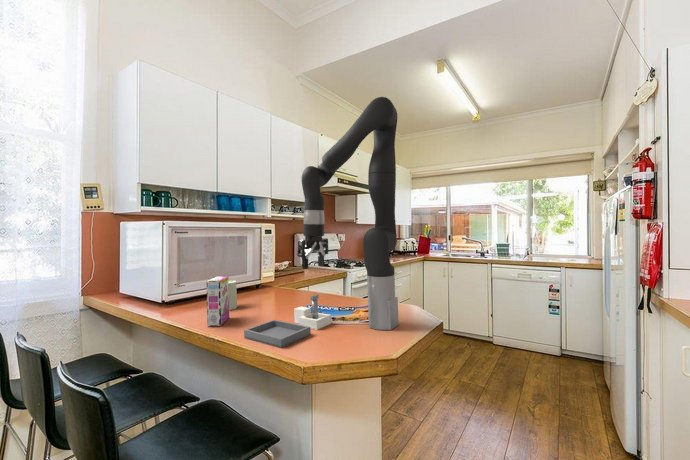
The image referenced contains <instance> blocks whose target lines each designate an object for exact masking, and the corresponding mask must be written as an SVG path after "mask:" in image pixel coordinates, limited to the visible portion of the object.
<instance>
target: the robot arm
mask: <svg viewBox="0 0 690 460" xmlns="http://www.w3.org/2000/svg"><path fill="white" fill-rule="evenodd" d="M398 118H399V117H398V111H397V109H396V107H395V105H394V104H393V102H392V101H391V100H390V99H389V98H388V97H386V96H378V97H375V98H374V99H373V100H371V101H370V103H369V104H368V105H367V106H366V107H365V108H364V109H363V111H362V112H361V114H360V115H359V117H358V118H357V119H356V120H355V121H354V123H353V124H352V125H351V127H350V128H349V129H348V130H347V131H346V132H345V134H344V135H342V137H341V138H340V139H338V141H337V142H336V143H334V145H333V146H332V147H330V148H329V149H328V151H327V152H325V153H324V154H323V155H322V156H321V163H320V164H319V165H318V166H317V167H316V166H312V165H311V166H310V165H309V166H307V167H305V168H304V169H303V170H302V174H301V186H302V192H303V196H304V197H303V198H304V212H303V230H302V231H303V232H302V233H303V236H304V239H298V240H297V255H296V256H297V257H299V258H301V268H302V270H303V269H304V270H309V257H310V255H311V254H312V253H313V252H316V253H317V255H318V256H317V266H318V267H322V268H323V267H324V265H325V257H326V255H328V254H329V239H328V238H326V237H325V238H324V236H325V197H324V195H323V194H322V193H321V188H323V187H324V186H325V185H327V184H328V182H330V181H331V179H332V178H333V177H334V175H335V173H336V172H337V171H338V170H339V169H340V168H341V167H342V166H343V165H344V164H346V162H348V160H350V159H351V157H352V156H353V155H354V154H355V152H356V151H357V149H358V148H359V146H360V145H361V143H362V142H363V141H364V140H365V139H366V137H368V135H370V134H371V133H372V132H373V149H372V153H371V157H370V161H369V165H368V174H367V175H368V176H367V177H368V180H367V181H368V182H367V185H368V187H367V188H368V192H369V196H370V199H371V202H372V206H373V209H374V210H373V211H374V219H375V220H374V227H372V228H369V229H368V230H366V231H365V234H364V236H363V238H362V239H363V241H362V246H363V247H362V248H363V250H362V251H363V263H364V268H365V269H366V275H367V276H366V278H367V311H368V312H367V313H368V314H367V315H368V327H369V328H370V329H374V330H380V331H386V330H388V331H391V330H393V329H395V328H396V327H398V326H400V325H399V298H398V296H396V275H395V274H396V273H395V272H396V271H395V266H394V265H392V264H391V261H390V253H391V252H393V251H394V250H395V248H396V246H397V242H398V238H397V236H398V235H397V226H396V225H397V224H396V188H397V187H396V186H397V185H396V184H397V183H396V182H397V181H396V180H397V179H396V178H397V176H396V175H397V169H396V162H397V161H396V135H397V125H398Z"/></svg>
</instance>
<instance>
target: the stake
mask: <svg viewBox="0 0 690 460" xmlns="http://www.w3.org/2000/svg"><path fill="white" fill-rule="evenodd" d="M309 297H310V301H311V313H312V318H313V319H318V313H319V305H318V299H320V295H319V294H313V295H310V296H309Z"/></svg>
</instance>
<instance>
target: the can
mask: <svg viewBox="0 0 690 460" xmlns="http://www.w3.org/2000/svg"><path fill="white" fill-rule="evenodd" d="M228 280H229V279H228ZM228 282H229V311H233V310H236V309H237V308H238V297H237V295H238V293H237V280H233V279H230V280H229V281H228Z"/></svg>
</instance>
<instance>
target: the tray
mask: <svg viewBox="0 0 690 460" xmlns="http://www.w3.org/2000/svg"><path fill="white" fill-rule="evenodd" d="M311 330H312V329H310V327H308V326H303V325H299V323H294V322H293V323H292V322H289V321H283V320H277V319H272V320H269V321H266V322H263V323H260V324H258V325H257V324H256V325H255V326H254V325H253V326H252V327H248V328H246V329H243V338H244V339H245V340H251V341H254V342H258V343H261V344H265V345H269V346H272V347H275V346H276V347H277V348H279V349H282V348H283V349H284V348H285V347H287V346H289V345H291V344H294V343H296V342H299V341H300V340H303V339H305V338H307V337H309V336H311V335H312V334H311V333H312V332H311Z"/></svg>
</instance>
